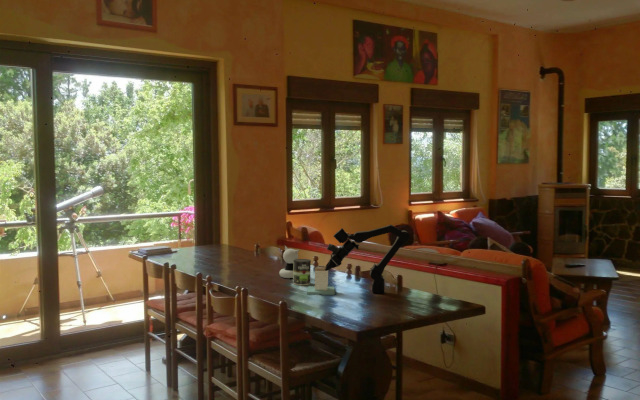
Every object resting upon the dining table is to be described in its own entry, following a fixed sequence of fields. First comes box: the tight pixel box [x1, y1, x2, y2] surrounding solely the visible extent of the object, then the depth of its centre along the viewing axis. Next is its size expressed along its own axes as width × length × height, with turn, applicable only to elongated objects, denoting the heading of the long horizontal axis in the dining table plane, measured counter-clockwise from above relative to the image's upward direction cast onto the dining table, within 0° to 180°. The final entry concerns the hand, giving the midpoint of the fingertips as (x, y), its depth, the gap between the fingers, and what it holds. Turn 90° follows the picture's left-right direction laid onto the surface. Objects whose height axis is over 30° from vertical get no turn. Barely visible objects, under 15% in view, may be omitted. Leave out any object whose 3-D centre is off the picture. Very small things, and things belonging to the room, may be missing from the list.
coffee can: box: [292, 258, 312, 286], centre depth 344 cm, size 10×10×14 cm
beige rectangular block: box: [314, 266, 329, 291], centre depth 324 cm, size 7×7×12 cm
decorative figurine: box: [279, 245, 300, 279], centre depth 364 cm, size 15×15×20 cm
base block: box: [306, 285, 336, 296], centre depth 324 cm, size 15×15×2 cm
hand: (325, 268), depth 323 cm, fingers open, 9 cm apart
